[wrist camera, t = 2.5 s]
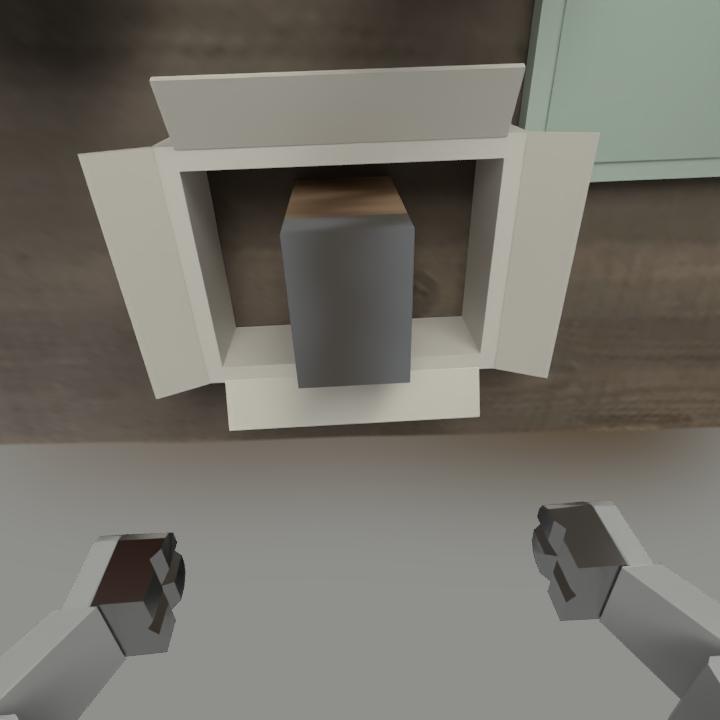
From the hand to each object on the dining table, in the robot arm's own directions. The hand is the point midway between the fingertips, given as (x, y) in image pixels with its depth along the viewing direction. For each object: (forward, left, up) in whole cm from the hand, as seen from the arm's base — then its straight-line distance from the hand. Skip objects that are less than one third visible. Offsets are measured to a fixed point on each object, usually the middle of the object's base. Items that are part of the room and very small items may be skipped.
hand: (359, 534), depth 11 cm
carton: (0, 0, -20) cm, 20 cm away
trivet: (-15, -9, -20) cm, 26 cm away
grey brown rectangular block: (0, 0, -20) cm, 20 cm away
